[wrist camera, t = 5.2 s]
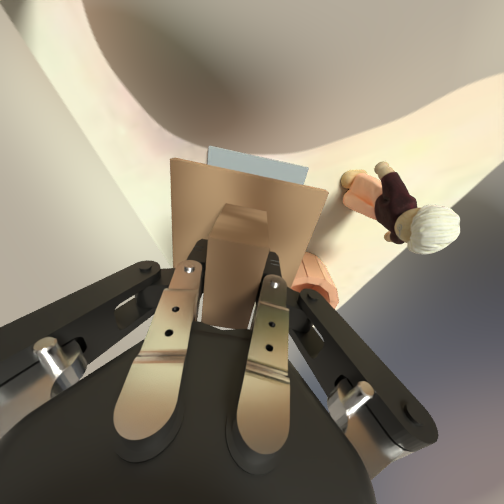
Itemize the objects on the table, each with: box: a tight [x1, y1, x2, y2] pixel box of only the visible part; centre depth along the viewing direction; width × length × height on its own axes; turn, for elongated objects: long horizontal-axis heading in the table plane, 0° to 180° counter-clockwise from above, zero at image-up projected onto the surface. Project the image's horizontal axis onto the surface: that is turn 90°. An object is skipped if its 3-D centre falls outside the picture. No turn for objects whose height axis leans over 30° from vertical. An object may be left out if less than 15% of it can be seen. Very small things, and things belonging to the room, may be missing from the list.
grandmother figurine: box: [341, 162, 460, 254], centre depth 17 cm, size 8×4×13 cm, turn 36°
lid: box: [170, 158, 329, 329], centre depth 13 cm, size 10×10×6 cm
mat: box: [208, 146, 309, 185], centre depth 24 cm, size 11×11×1 cm
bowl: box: [291, 252, 339, 309], centre depth 26 cm, size 8×8×6 cm
